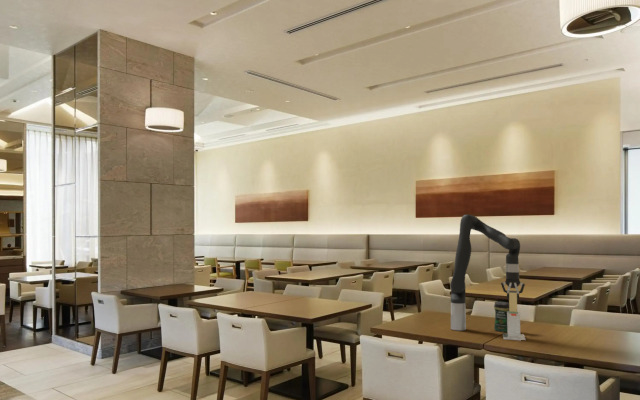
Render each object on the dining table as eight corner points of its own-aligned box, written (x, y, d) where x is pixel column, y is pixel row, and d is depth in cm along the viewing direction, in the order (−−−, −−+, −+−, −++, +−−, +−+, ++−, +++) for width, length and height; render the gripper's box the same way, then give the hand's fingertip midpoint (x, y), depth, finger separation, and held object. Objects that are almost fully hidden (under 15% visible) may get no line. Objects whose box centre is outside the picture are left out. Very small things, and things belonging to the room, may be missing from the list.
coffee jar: (492, 330, 307) (492, 301, 308) (497, 329, 313) (496, 300, 314) (508, 333, 301) (507, 303, 302) (512, 331, 307) (511, 301, 308)
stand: (503, 339, 283) (502, 313, 284) (503, 335, 295) (502, 310, 296) (525, 340, 279) (524, 314, 280) (524, 336, 291) (523, 311, 292)
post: (509, 326, 286) (509, 291, 287) (509, 324, 290) (508, 290, 292) (517, 326, 285) (516, 291, 286) (517, 325, 289) (516, 290, 290)
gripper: (499, 271, 288) (500, 300, 287) (525, 272, 284) (526, 301, 282) (499, 270, 295) (500, 298, 294) (524, 271, 291) (525, 299, 290)
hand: (513, 299), depth 288 cm, fingers closed on post, 4 cm apart
